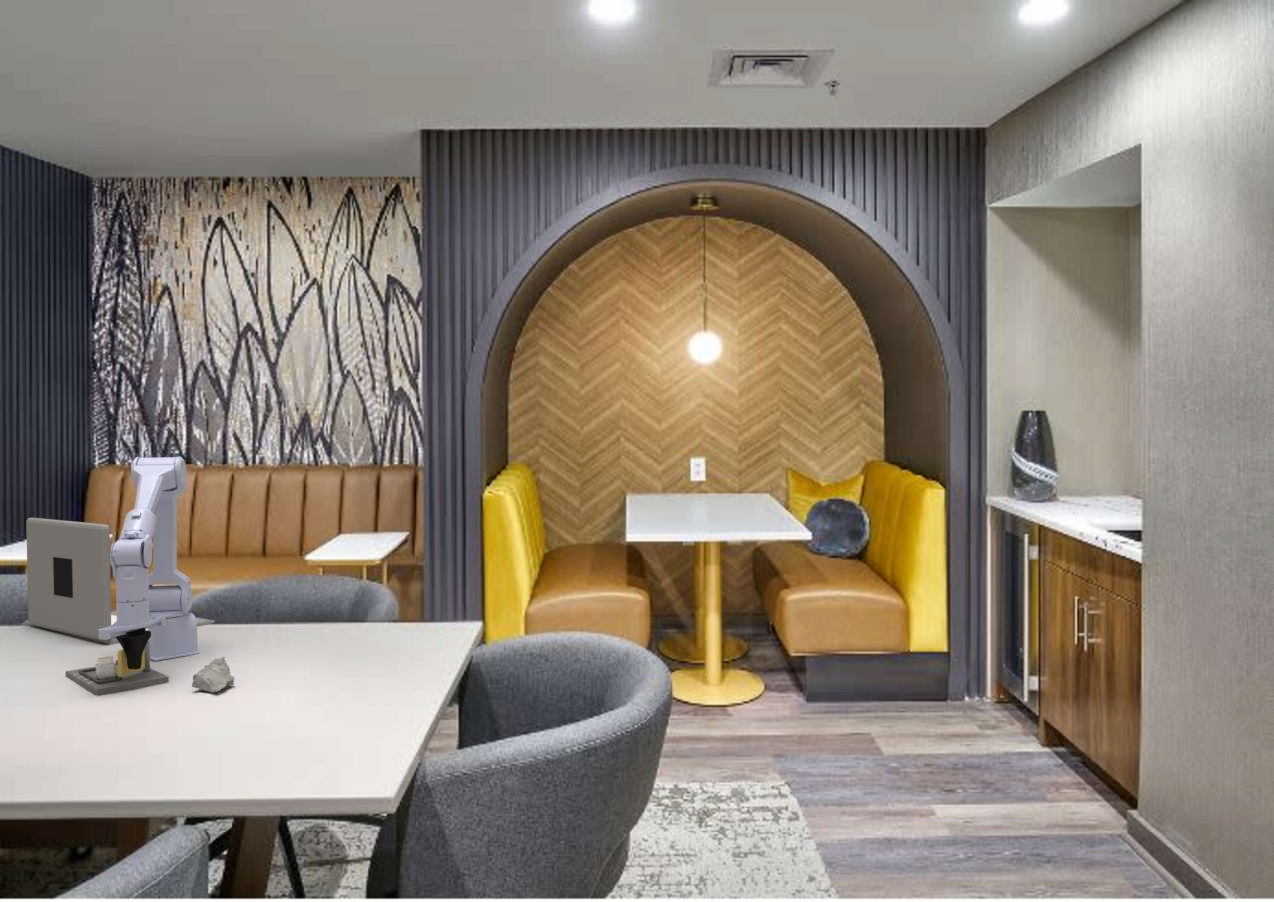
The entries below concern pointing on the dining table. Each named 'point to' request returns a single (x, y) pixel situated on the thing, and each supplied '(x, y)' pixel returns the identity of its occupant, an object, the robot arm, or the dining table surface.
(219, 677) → the stone
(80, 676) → the console
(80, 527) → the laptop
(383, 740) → the dining table surface
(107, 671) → the fader knob
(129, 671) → the door
